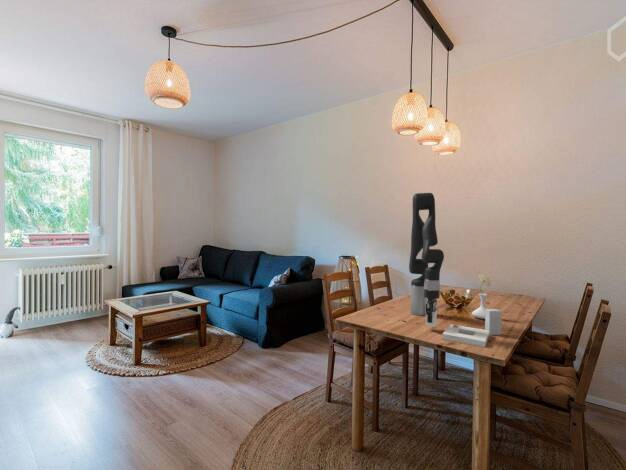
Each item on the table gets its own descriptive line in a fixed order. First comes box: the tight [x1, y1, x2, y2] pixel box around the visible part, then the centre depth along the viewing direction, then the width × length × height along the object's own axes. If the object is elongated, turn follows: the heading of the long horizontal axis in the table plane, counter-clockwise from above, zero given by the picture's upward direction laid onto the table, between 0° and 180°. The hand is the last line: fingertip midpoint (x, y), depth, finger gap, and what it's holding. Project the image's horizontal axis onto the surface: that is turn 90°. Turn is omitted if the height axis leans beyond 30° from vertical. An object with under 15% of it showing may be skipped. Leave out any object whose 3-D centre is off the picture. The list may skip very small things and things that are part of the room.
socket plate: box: [442, 323, 490, 348], centre depth 160 cm, size 18×18×3 cm
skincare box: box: [484, 308, 502, 336], centre depth 166 cm, size 6×4×12 cm
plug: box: [424, 308, 438, 327], centre depth 170 cm, size 4×4×9 cm
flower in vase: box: [471, 273, 491, 320], centre depth 194 cm, size 13×11×25 cm
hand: (430, 321), depth 170 cm, fingers closed on plug, 4 cm apart
